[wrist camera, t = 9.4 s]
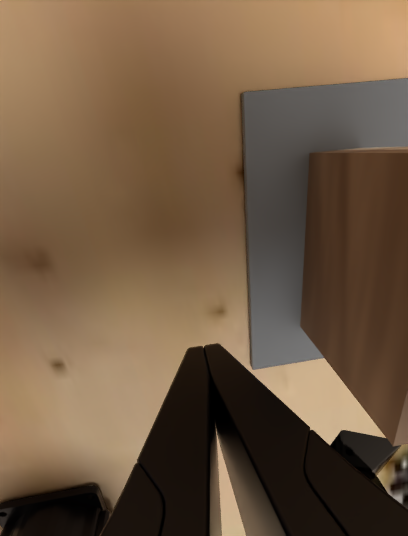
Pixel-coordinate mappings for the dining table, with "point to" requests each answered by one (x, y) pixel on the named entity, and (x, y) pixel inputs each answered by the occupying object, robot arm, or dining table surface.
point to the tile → (360, 276)
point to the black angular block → (365, 452)
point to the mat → (299, 192)
